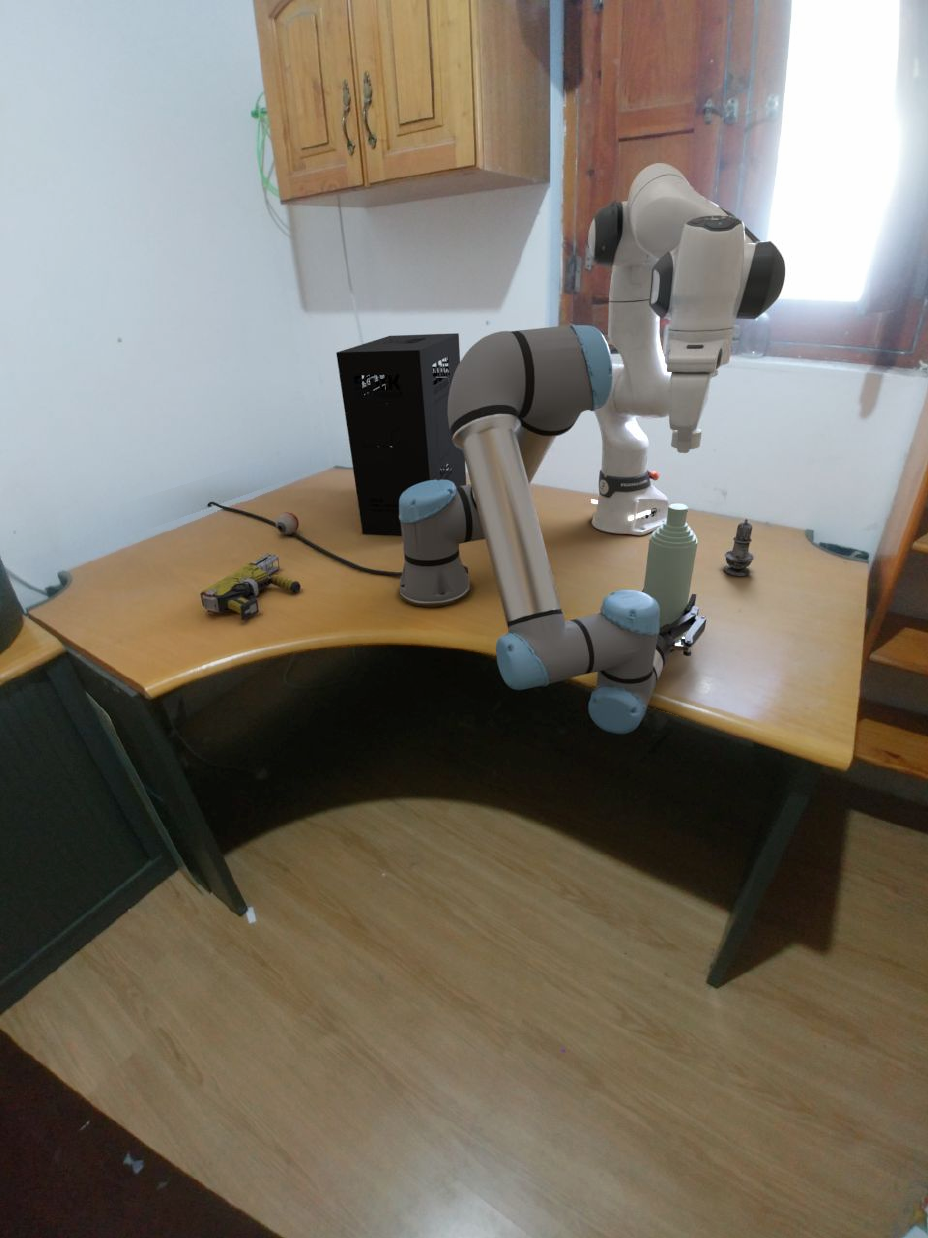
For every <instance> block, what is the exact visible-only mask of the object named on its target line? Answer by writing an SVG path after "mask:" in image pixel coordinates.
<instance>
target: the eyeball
mask: <svg viewBox="0 0 928 1238" xmlns="http://www.w3.org/2000/svg"><path fill="white" fill-rule="evenodd" d="M275 523H276V526H275V527H276V529H277V530H278V531H279V532H280V533H281V534H282V535H285V536H286V535H287V536H289V535H292V533H294V532H295V533H296V532H297V531H298V529H299V525H300V522H299V519H298V517H297V516H296V515H295V514H294V513H292V512H287V511H286V512H282V513H280V514H279V515H278V516H277V517H276V520H275Z"/></svg>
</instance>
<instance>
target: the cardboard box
mask: <svg viewBox="0 0 928 1238" xmlns="http://www.w3.org/2000/svg"><path fill="white" fill-rule="evenodd" d="M460 353H461V352H460V334H459V332H458V333H457V332H455V333H453V332H452V333H430V334H427V333H426V334H425V333H424V334H403V335H401V334H400V335H387V336H384V337H381V338H378V339H375V340H372V341H368V342H365V343H362V344H359V345H355V346H353V347H350V348H346V349H343V350H340V351H337V352H335V354H336V359H337V360H336V361H337V367H338V374H339V381H340V388H341V395H342V402H343V409H344V415H345V423H346V429H347V436H348V442H349V449H350V457H351V463H352V471H353V475H354V476H353V478H354V484H355V490H356V491H355V492H356V498H357V504H358V511H359V520H360V525H361V526H360V527H361V532H362V534H371V535H396V536H402V530H401V521H400V519H399V499H400V497H401V495H402V493H403V492H404V491H406V490H407V489H408V488H410V487H411V486H414V485H416V484H418V483H422V482H425V481H430V480H437V481H438V480H441V479H443V480H449V481H452V482H453V483H454V484H455V486H456V487H458V486H463V485H467V471H466V469H467V467H466V462H465V458H464V454H463V450H461V449H459V448H457V447H456V446H455V445H454V444H453V441H452V436H451V432H450V428H449V422H448V397H449V391H450V387H451V383H452V379H453V376H454V374H455V371H456V369H457V367H458V365H459V363H460V361H461V354H460ZM443 360H444V361H443ZM439 362H440V363H441V364H439ZM434 365H435V366H434Z"/></svg>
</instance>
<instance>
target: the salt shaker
mask: <svg viewBox="0 0 928 1238" xmlns="http://www.w3.org/2000/svg"><path fill="white" fill-rule="evenodd" d="M735 532H736V533H735V536H734V537H733V539H732V540H733V541H734V542H733V547H732V549H731V550H728V551H726V552H725V553H724V558H725V562H726V564H727V565H726V566H724V567H723V572H724V573H726V574H728V575H730V576H734V577H735V576H736V577H745V576H748V575H749V574H750V572H751V571H750V570H749V568H748V567H749V566H751V564H752V562H753V561H754V560H755V556H754V554H752V553H750V551H749V550H750V549H749V548H750V543H752V541H753V540H752V532H753V525H752V524H751V523H749V520H748V519H747V518H745V519H744V521H743V522H740V523H738V524H737V527H736V531H735Z"/></svg>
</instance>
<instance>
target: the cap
mask: <svg viewBox="0 0 928 1238" xmlns="http://www.w3.org/2000/svg"><path fill="white" fill-rule="evenodd" d="M702 434H703V431H702V430H701V429H700V428H698V427H697V428H696V429H695V430H694V431H693V433H692V438H691V447H690V450H695V449H698V448H700V446H701V439H702ZM670 442H671V443H670V446H671V448H674V449H677V446H678V430H672V433H671V441H670Z"/></svg>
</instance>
